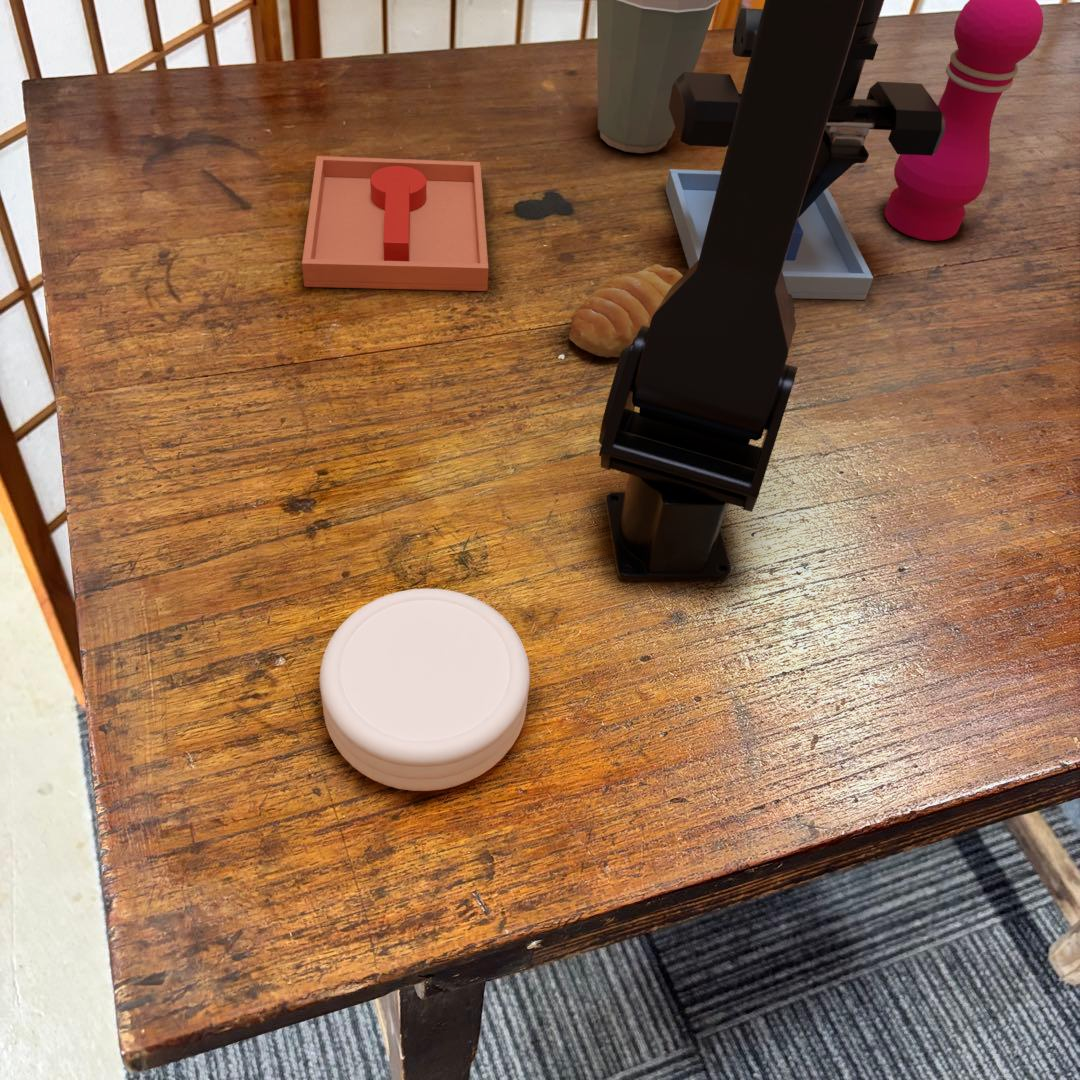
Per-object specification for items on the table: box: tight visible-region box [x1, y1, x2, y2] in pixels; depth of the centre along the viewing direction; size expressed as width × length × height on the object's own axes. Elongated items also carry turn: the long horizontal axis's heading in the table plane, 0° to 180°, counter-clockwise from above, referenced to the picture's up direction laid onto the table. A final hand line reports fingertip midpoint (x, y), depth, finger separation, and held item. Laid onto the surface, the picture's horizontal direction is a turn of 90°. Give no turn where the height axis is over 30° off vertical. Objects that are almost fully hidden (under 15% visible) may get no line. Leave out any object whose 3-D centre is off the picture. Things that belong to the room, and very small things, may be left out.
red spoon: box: [370, 166, 427, 261], centre depth 78 cm, size 12×4×2 cm, turn 4°
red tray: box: [301, 155, 489, 292], centre depth 78 cm, size 15×13×2 cm
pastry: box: [568, 263, 684, 359], centre depth 71 cm, size 9×7×4 cm
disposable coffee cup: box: [596, 0, 721, 154], centre depth 87 cm, size 11×11×15 cm
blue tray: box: [665, 168, 874, 301], centre depth 81 cm, size 15×13×2 cm
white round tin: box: [318, 587, 531, 792], centre depth 50 cm, size 10×10×4 cm
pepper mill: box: [884, 0, 1044, 242], centre depth 79 cm, size 7×7×20 cm
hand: (775, 221), depth 79 cm, fingers closed
